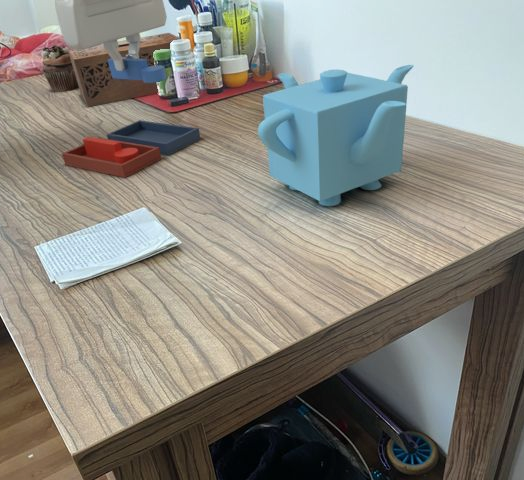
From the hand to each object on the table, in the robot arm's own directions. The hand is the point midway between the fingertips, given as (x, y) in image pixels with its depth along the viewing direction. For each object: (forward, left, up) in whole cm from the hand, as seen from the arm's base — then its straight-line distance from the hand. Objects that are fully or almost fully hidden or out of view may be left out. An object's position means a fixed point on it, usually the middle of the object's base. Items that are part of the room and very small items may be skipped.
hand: (128, 67), depth 89 cm
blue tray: (+2, 0, -13) cm, 13 cm away
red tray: (+2, -10, -13) cm, 16 cm away
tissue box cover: (-32, +28, -13) cm, 45 cm away
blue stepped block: (+2, 0, -2) cm, 2 cm away
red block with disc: (+2, -10, -12) cm, 16 cm away
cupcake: (-56, +25, -13) cm, 63 cm away
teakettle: (+44, -4, -13) cm, 46 cm away
